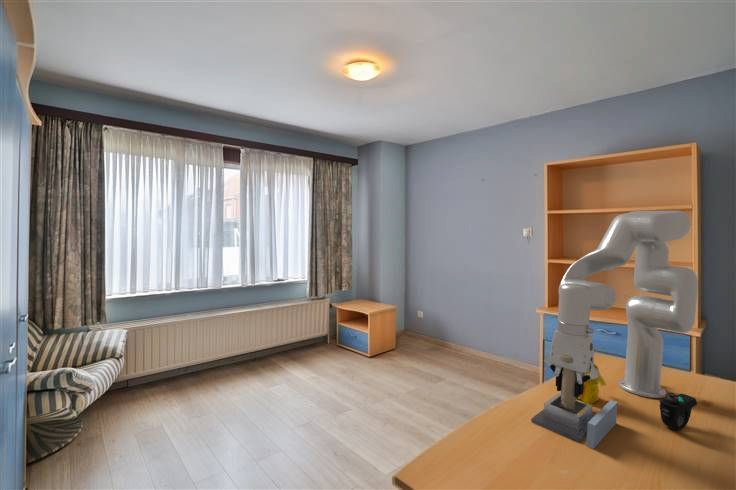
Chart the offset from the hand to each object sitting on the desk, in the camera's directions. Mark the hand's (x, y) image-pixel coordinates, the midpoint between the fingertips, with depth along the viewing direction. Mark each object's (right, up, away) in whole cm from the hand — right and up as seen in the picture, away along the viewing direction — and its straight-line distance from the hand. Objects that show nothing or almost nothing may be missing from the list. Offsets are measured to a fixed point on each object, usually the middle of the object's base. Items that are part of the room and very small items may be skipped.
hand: (568, 392), depth 100 cm
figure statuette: (+13, -8, +13) cm, 20 cm away
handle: (0, -4, 0) cm, 4 cm away
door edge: (+5, -9, -6) cm, 12 cm away
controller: (+28, -9, -2) cm, 30 cm away
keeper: (0, -8, +1) cm, 8 cm away
